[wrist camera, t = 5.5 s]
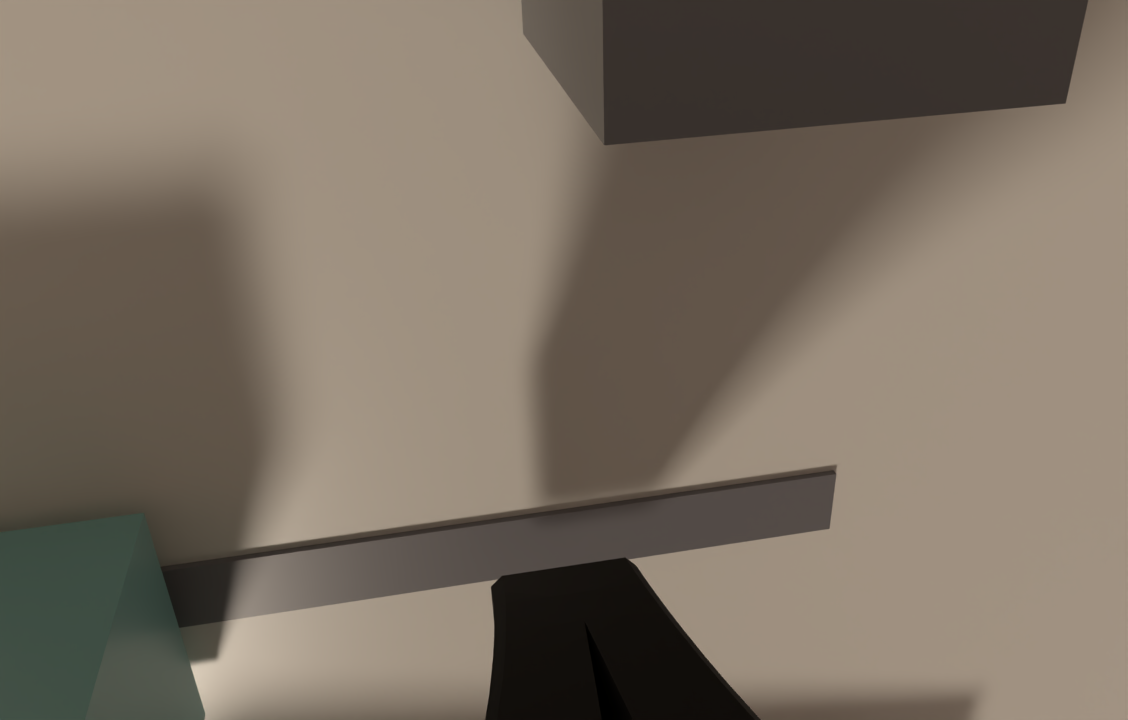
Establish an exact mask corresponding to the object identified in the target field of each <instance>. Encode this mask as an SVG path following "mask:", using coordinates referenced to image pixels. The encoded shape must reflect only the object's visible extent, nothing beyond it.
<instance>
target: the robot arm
mask: <svg viewBox="0 0 1128 720" xmlns="http://www.w3.org/2000/svg"><path fill="white" fill-rule="evenodd" d="M491 594H492V605H493V616H494V648H493V662H492V672H491V682H490V691H489V699H488V705H487V711H486V717H485V720H761V719H760V718H759V717H758V716H757V715H756V714H755V713H754V712H753V711H752V709H751V708H750V707H749V706H748V705H747V704H746V703H745V702H744V700H743V699H742V698H741V697H740V696H739V695H738V694H737V693H736V692H735V690H734V689H733V688H732V687H731V686H730V685H729V684H728V683H727V681H726V680H725V679H724V678H723V677H722V676H721V674H720V673H719V672H718V671H717V670H716V669H715V667H714V666H713V665H712V664H711V663H710V662H709V660H708V659H707V658H706V657H705V656H704V654H703V653H702V652H701V651H700V649H699V648H698V647H697V646H696V644H695V643H694V642H693V641H692V639H691V638H690V637H689V636H688V635H687V633H686V632H685V631H684V630H683V628H682V627H681V626H680V625H679V623H678V622H677V621H676V619H675V618H674V617H673V616H672V614H671V613H670V612H669V610H668V609H667V608H666V606H665V605H664V604H663V602H662V601H661V600H660V598H659V597H658V596H657V594H656V593H655V592H654V590H653V589H652V587H651V586H650V585H649V583H648V582H647V580H646V579H645V578H644V576H643V575H642V573H641V572H640V570H639V569H638V567H637V566H636V565H635V564H634V563H632V562H631V561H630V560H628V559H627V558H626V557H624V558H618V559H611V560H604V561H598V562H591V563H584V564H577V565H571V566H564V567H557V568H551V569H544V570H537V571H530V572H524V573H517V574H510V575H504V576H501V577H500V578H499V579H498V580H497V581H496V582H495V583H494V584H493V585H492V586H491Z"/></svg>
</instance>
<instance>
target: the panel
mask: <svg viewBox="0 0 1128 720" xmlns="http://www.w3.org/2000/svg"><path fill="white" fill-rule="evenodd" d="M138 513H144V515H145V518H146V521H147V525H148V528H149V531H150V534H151V538H152V541H153V544H154V547H155V551H156V554H157V557H158V561H159V564H160V567H161V570H162V574H163V577H164V580H165V583H166V587H167V590H168V593H169V597H170V600H171V603H172V606H173V610H174V613H175V616H176V619H177V623H178V626H179V629H180V633H181V636H182V639H183V642H184V646H185V649H186V652H187V655H188V659H189V662H190V665H191V668H192V672H193V675H194V678H195V682H196V685H197V688H198V691H199V695H200V698H201V701H202V704H203V708H204V711H205V719H204V720H485V717H486V711H487V705H488V699H489V691H490V682H491V672H492V662H493V648H494V616H493V605H492V594H491V586H492V585H493V584H494V583H495V582H496V581H497V580H498V579H499V578H500V577H501V576H504V575H510V574H517V573H524V572H530V571H537V570H544V569H551V568H557V567H564V566H571V565H577V564H584V563H591V562H598V561H604V560H611V559H618V558H624V557H626V558H627V559H628V560H630V561H631V562H632V563H634V564H635V565H636V566H637V567H638V569H639V570H640V572H641V573H642V575H643V576H644V578H645V579H646V580H647V582H648V583H649V585H650V586H651V587H652V589H653V590H654V592H655V593H656V594H657V596H658V597H659V598H660V600H661V601H662V602H663V604H664V605H665V606H666V608H667V609H668V610H669V612H670V613H671V614H672V616H673V617H674V618H675V619H676V621H677V622H678V623H679V625H680V626H681V627H682V628H683V630H684V631H685V632H686V633H687V635H688V636H689V637H690V638H691V639H692V641H693V642H694V643H695V644H696V646H697V647H698V648H699V649H700V651H701V652H702V653H703V654H704V656H705V657H706V658H707V659H708V660H709V662H710V663H711V664H712V665H713V666H714V667H715V669H716V670H717V671H718V672H719V673H720V674H721V676H722V677H723V678H724V679H725V680H726V681H727V683H728V684H729V685H730V686H731V687H732V688H733V689H734V690H735V692H736V693H737V694H738V695H739V696H740V697H741V698H742V699H743V700H744V702H745V703H746V704H747V705H748V706H749V707H750V708H751V709H752V711H753V712H754V713H755V714H756V715H757V716H758V717H759V718H760V719H761V720H1128V0H1088V4H1087V8H1086V13H1085V18H1084V22H1083V27H1082V31H1081V36H1080V40H1079V45H1078V50H1077V54H1076V59H1075V63H1074V68H1073V72H1072V77H1071V82H1070V86H1069V91H1068V95H1067V100H1066V104H1056V105H1045V106H1034V107H1023V108H1012V109H1000V110H989V111H978V112H967V113H956V114H945V115H934V116H923V117H912V118H901V119H890V120H879V121H868V122H857V123H846V124H835V125H824V126H813V127H802V128H791V129H780V130H769V131H758V132H747V133H736V134H725V135H714V136H703V137H692V138H681V139H670V140H659V141H648V142H637V143H626V144H614V145H604V144H603V143H602V142H601V140H600V139H599V138H598V136H597V135H596V133H595V132H594V131H593V129H592V128H591V127H590V125H589V124H588V122H587V121H586V120H585V118H584V117H583V116H582V114H581V113H580V111H579V110H578V109H577V107H576V106H575V105H574V103H573V102H572V100H571V99H570V98H569V96H568V95H567V94H566V92H565V91H564V89H563V88H562V87H561V85H560V84H559V83H558V81H557V80H556V78H555V77H554V76H553V74H552V73H551V72H550V70H549V69H548V67H547V66H546V65H545V63H544V62H543V61H542V59H541V58H540V56H539V55H538V54H537V52H536V51H535V50H534V48H533V47H532V45H531V44H530V43H529V41H528V40H527V39H526V37H525V36H524V34H523V22H522V3H521V0H0V532H6V531H13V530H20V529H28V528H35V527H43V526H50V525H57V524H65V523H72V522H79V521H87V520H94V519H101V518H109V517H116V516H124V515H131V514H138Z"/></svg>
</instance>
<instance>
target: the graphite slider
mask: <svg viewBox="0 0 1128 720" xmlns="http://www.w3.org/2000/svg"><path fill="white" fill-rule="evenodd" d="M521 3H522V22H523V34H524V36H525V37H526V39H527V40H528V41H529V43H530V44H531V45H532V47H533V48H534V50H535V51H536V52H537V54H538V55H539V56H540V58H541V59H542V61H543V62H544V63H545V65H546V66H547V67H548V69H549V70H550V72H551V73H552V74H553V76H554V77H555V78H556V80H557V81H558V83H559V84H560V85H561V87H562V88H563V89H564V91H565V92H566V94H567V95H568V96H569V98H570V99H571V100H572V102H573V103H574V105H575V106H576V107H577V109H578V110H579V111H580V113H581V114H582V116H583V117H584V118H585V120H586V121H587V122H588V124H589V125H590V127H591V128H592V129H593V131H594V132H595V133H596V135H597V136H598V138H599V139H600V140H601V142H602V143H603V144H604V145H614V144H626V143H637V142H648V141H659V140H670V139H681V138H692V137H703V136H714V135H725V134H736V133H747V132H758V131H769V130H780V129H791V128H802V127H813V126H824V125H835V124H846V123H857V122H868V121H879V120H890V119H901V118H912V117H923V116H934V115H945V114H956V113H967V112H978V111H989V110H1000V109H1012V108H1023V107H1034V106H1045V105H1056V104H1066V100H1067V95H1068V91H1069V86H1070V82H1071V77H1072V72H1073V68H1074V63H1075V59H1076V54H1077V50H1078V45H1079V40H1080V36H1081V31H1082V27H1083V22H1084V18H1085V13H1086V8H1087V4H1088V0H521Z"/></svg>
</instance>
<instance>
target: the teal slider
mask: <svg viewBox="0 0 1128 720" xmlns="http://www.w3.org/2000/svg"><path fill="white" fill-rule="evenodd" d="M204 719H205V711H204V708H203V704H202V701H201V698H200V695H199V691H198V688H197V685H196V682H195V678H194V675H193V672H192V668H191V665H190V662H189V659H188V655H187V652H186V649H185V646H184V642H183V639H182V636H181V633H180V629H179V626H178V623H177V619H176V616H175V613H174V610H173V606H172V603H171V600H170V597H169V593H168V590H167V587H166V583H165V580H164V577H163V574H162V570H161V567H160V564H159V561H158V557H157V554H156V551H155V547H154V544H153V541H152V538H151V534H150V531H149V528H148V525H147V521H146V518H145V515H144V513H138V514H131V515H124V516H116V517H109V518H101V519H94V520H87V521H79V522H72V523H65V524H57V525H50V526H43V527H35V528H28V529H20V530H13V531H6V532H0V720H204Z"/></svg>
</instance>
